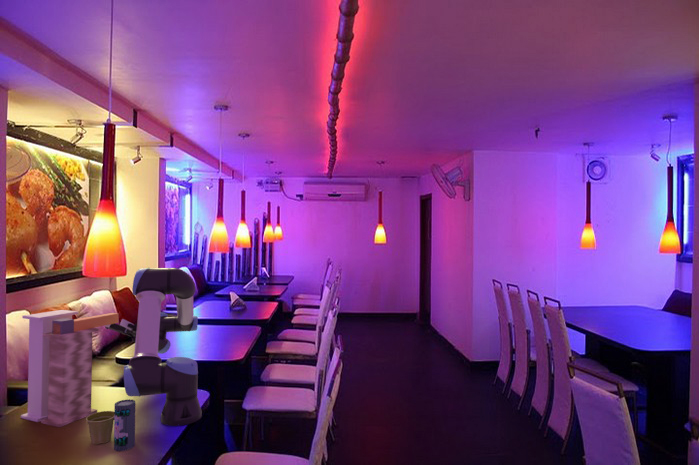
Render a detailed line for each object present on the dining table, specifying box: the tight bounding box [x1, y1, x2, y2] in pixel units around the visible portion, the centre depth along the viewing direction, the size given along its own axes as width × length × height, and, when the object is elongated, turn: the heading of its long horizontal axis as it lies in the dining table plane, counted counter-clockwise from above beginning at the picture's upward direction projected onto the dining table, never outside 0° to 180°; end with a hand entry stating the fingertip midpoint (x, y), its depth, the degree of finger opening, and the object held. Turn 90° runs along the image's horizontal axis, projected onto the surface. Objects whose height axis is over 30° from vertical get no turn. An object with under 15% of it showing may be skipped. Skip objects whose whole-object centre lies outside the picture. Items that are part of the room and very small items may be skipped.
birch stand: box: [40, 327, 100, 428], centre depth 178 cm, size 16×10×34 cm, turn 158°
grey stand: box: [20, 309, 79, 423], centre depth 182 cm, size 16×10×40 cm, turn 158°
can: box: [113, 399, 136, 452], centre depth 154 cm, size 6×6×15 cm
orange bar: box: [52, 312, 120, 335], centre depth 184 cm, size 26×5×5 cm, turn 158°
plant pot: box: [85, 410, 114, 445], centre depth 158 cm, size 9×9×9 cm
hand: (109, 320), depth 195 cm, fingers open, 13 cm apart
